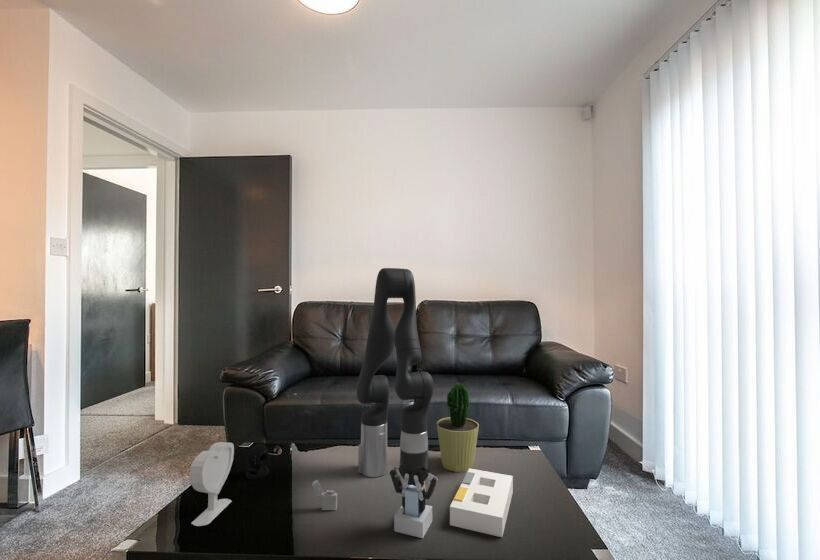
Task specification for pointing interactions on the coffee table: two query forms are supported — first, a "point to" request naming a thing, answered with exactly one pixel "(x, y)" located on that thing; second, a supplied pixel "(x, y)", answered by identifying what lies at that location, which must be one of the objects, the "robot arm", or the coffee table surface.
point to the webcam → (257, 462)
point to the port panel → (482, 502)
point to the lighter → (326, 497)
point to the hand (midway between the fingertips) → (413, 510)
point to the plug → (412, 502)
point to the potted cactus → (457, 432)
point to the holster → (413, 522)
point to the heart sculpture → (212, 478)
